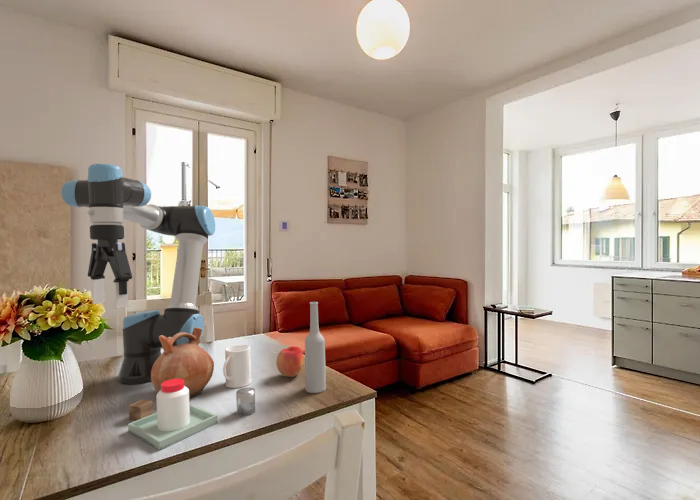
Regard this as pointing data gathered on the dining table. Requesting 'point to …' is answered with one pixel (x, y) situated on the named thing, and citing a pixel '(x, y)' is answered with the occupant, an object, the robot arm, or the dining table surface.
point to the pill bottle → (172, 406)
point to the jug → (183, 363)
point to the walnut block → (140, 409)
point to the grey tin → (245, 401)
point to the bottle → (315, 355)
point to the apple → (290, 361)
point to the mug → (237, 366)
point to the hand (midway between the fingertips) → (109, 305)
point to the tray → (161, 440)
